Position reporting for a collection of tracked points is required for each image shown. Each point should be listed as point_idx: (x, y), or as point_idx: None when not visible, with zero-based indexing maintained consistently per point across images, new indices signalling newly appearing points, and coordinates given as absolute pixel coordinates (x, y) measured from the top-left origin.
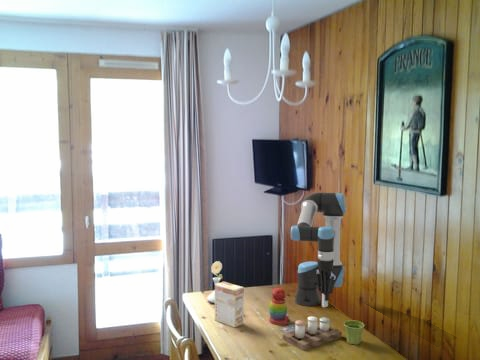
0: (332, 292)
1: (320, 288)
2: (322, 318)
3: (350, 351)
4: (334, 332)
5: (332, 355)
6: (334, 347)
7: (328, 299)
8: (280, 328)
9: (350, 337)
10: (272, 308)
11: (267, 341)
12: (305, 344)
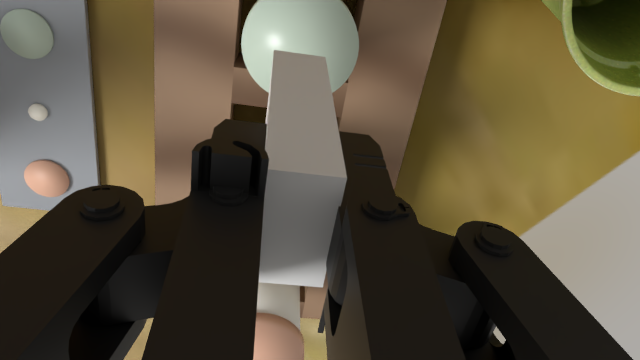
0: (528, 248)
1: (129, 312)
2: (268, 44)
3: (608, 115)
4: (414, 10)
5: (523, 233)
6: (487, 143)
7: (377, 155)
8: (6, 192)
9: (603, 31)
10: None
11: (132, 346)
12: None
